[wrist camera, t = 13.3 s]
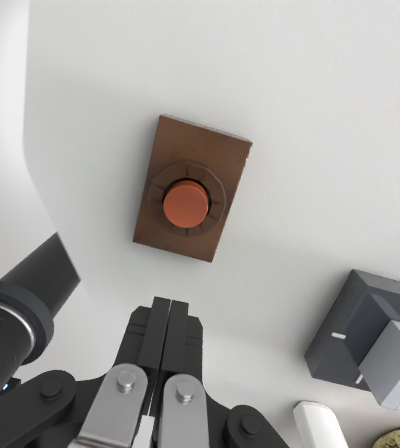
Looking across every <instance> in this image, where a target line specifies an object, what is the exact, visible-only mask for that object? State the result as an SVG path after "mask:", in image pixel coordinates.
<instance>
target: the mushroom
mask: <svg viewBox="0 0 400 448" xmlns="http://www.w3.org/2000/svg"><path fill="white" fill-rule="evenodd" d="M372 448H400V429H399V430H395V431H392V432H389V433H387V434H385V435H383V436H382V437H380V438H379V439H378V440H377V441H376V442H375V443H374V444H373V446H372Z"/></svg>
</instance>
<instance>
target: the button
mask: <svg viewBox="0 0 400 448" xmlns="http://www.w3.org/2000/svg"><path fill="white" fill-rule="evenodd" d="M163 208H164V213H165V215H166V217H167V218H168V220H169V221H170V222H172V223H173V224H174V225H176V226H179V227H183V228H189V227H194V226H196V225H198V224H199V223H201V222H202V221H203V220H204V218H205V217H206V215H207V211H208V196H207V193H206V191H205V190H204V188H203V187H202V186H201V185H199V184H198V183H196V182H194V181H189V180H184V181H180V182H177V183H175V184H174V185H173V186H172V187H171V188H170V189H169V191H168V193H167V195H166V197H165V199H164V204H163Z"/></svg>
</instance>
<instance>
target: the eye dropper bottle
mask: <svg viewBox="0 0 400 448" xmlns="http://www.w3.org/2000/svg"><path fill="white" fill-rule="evenodd" d="M293 414H294V418H295V421H296V425H297V429H298V432H299V436H300V440H301V443H302V447H303V448H348V446H347V443H346V441H345V438H344V436H343V433H342V431H341V428H340V426H339V423H338V421H337V418H336V416H335V414H334V412H333V411H332V410H330V409H329V408H328V407H326V406H324V405H322V404H319V403H316V402H310V401H301V402H300V403H299V404H298V405H297V406H296V407H295V408H294V410H293Z"/></svg>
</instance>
